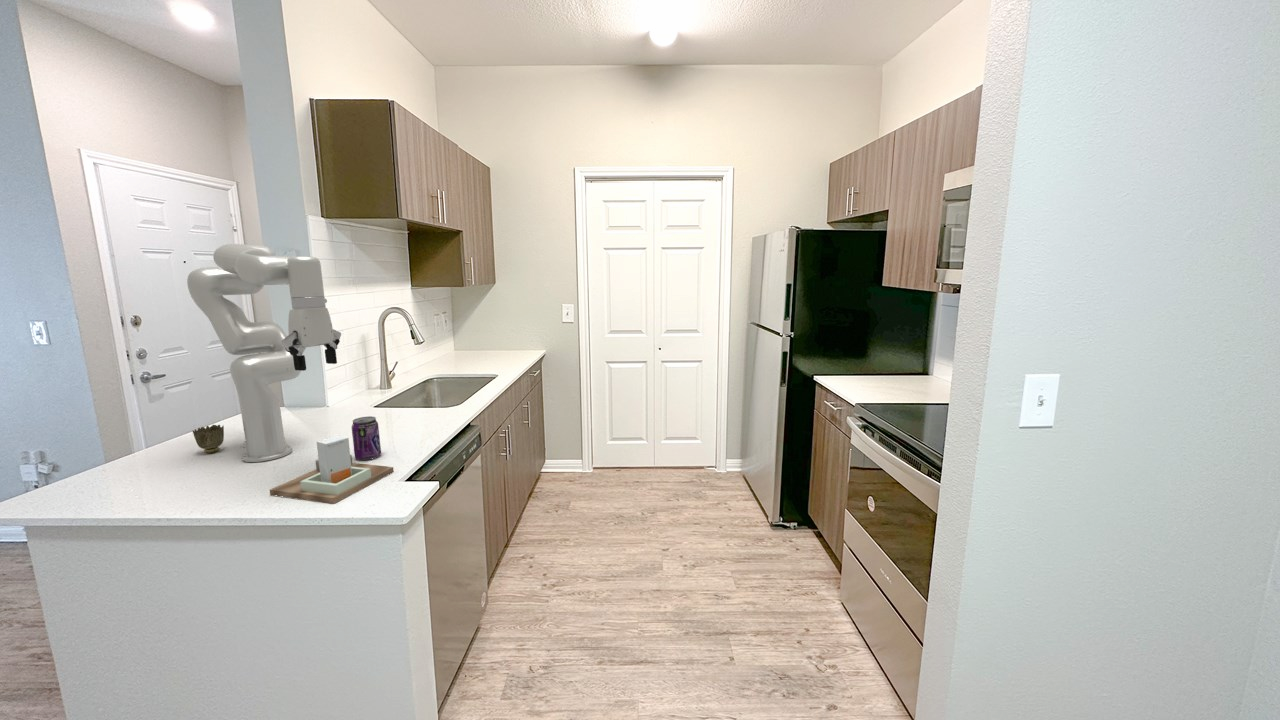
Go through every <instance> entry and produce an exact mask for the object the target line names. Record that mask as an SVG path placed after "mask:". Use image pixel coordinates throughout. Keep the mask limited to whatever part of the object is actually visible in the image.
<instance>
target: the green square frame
mask: <svg viewBox="0 0 1280 720" xmlns="http://www.w3.org/2000/svg"><path fill="white" fill-rule="evenodd" d="M351 468H352V476H350V477H348V478H346V479H344V480H342V481H340V482H338V483H336V484H335V483H327V482H321V477H320V473H318V474H315V475H313V476H311V477H309V478H307V479H304V480H302V481H300V483H301V490H302V491H308V492H316V493H324V494H332V495H339V494H340V493H342V492H344V491H346V490H348V489H350V488H352V487H354V486H356V485H358V484H360V483H362V482H364V481H365V480H367V479H369V478H371V470H370V469H369V468H360V467H351Z"/></svg>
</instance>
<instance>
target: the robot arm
mask: <svg viewBox="0 0 1280 720" xmlns="http://www.w3.org/2000/svg"><path fill="white" fill-rule="evenodd" d="M212 257H213V261H214V263H215V265H216V266H212V267H211V266H210V267H209V266H208V267H207V266H206V267H200V268H196V269H194V270H192V271H191V272H190V273H189V274H188V275H187V279H186V280H187V281H186V282H187V283H186V285H187V290H188V292H189V295H190V297H191V298H192V300H193V302H194V303H195V305H196V306H197V307H198V309H199V310H200V311H201V312H202V313H204V315H205V316H206V317H207V318H208V320H209V323H210V324H211V325H212V328H213V330H214V331H215V334H216V335H217V337H218V339H219V342H220V343H221V345H222V346H223V348H224V350H225V351H226V352H227V353H228V354H230V355H232V356H238V357H237V358H235V359H234V360H233V361H232V362H231V363H230V365H229V372H230V375H231V378H232V380H233V384H234V385H235V388H236V393H237V396H238V401H239V402H238V403H239V407H240V414H241V419H242V420H241V421H242V427H243V432H244V433H243V434H244V438H245V441H244V443H243V442H242V443H241V444H240V445H239V446H240V448H241V449H244V450H245V452H244V453H243V454H242V455H241V460H242V461H243V462H246V463H261V462H267V461H271V460H272V461H273V460H276V459H280V458H283V457H285V456H287V455H290V454H291V453H292V452H293V447H292V445H288V444H286V441H285V440H286V439H285V438H286V437H285V433H284V427H283V426H284V425H283V419H282V410H281V405H280V399H279V397H278V394H277V393H276V392H275V391H274V390H272V389H271V388H270V387H269V385H270V384H275V383H280V382H285V381H291V380H294V379H296V378H297V377H299V375H300V374H301V372H302V371H303V372H304V371H306V370H307V364H306V356H305V355H303V354H304V352H305V350H306V349H307V348H312V347H319V346H324V347H325V349H324V356H325V363H326V364H329V365H332V364H333V365H335V364H338V360H337V359H338V358H337V351H336V350H338V348H339V347H338V345H339V344H340V342H341V341H340V339H341V336H342V333H341V332H340V331H338V330H336V329H334V328H333V323H332V319H331V315H330V312H329V309H328V308H327V306H326V304H327V302H328V300H327V298H325V297H326V296H325V290H324V281H323V273H322V264H321V261H320V259H319V258H318V257H316V256H315V257H314V256H302V255H301V256H289V255H287V256H286V255H285V256H284V255H283V256H282V255H276V254H275V252H274V250H272V249H271V248H270V247H268V246H266V245H262V244H245V243H244V244H243V243H241V244H240V243H227V244H223V245H221V246H218V248H217V247H216V249H215V251H214V252H213V256H212ZM276 285H278V286H279V285H281V286H283V285H284V286H285V285H288V286H289V293H290V300H291V301H290V302H291V308H292V309H289V312H288V319H287V321H288V324H287V325H288V329H287V330H288V335H287V334H286V332H285V330H284V329H283V327H281V326H280V325H279V324H278V323H276V322H274V321H257V322H256V321H255V322H253V321H250V320H248V319H249V318H247V316H246V314H245V312H244V310H243V309H242V308H241V307H240V306H238V305H237V304H236V303H234V302H233V301H232V300H229V299H228V298H226V297H224V296H240V295H243V296H245V295H246V296H247V295H254V294H258V293H259V292H261V290H262V289H264V287H265V286H276Z"/></svg>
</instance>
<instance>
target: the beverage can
mask: <svg viewBox="0 0 1280 720" xmlns="http://www.w3.org/2000/svg"><path fill="white" fill-rule="evenodd" d="M379 429H380V428H379V423H378V420H377V418H376V416H362V417H357V418H355V419H353V420H352V425H351V434H352V442H353V443H352V444H353V452H354V453H353V454H354V458H355V459H357V460H360V461H369V460H373V459H376V458H377V457H379V456H380V455H381V454H382V448H381V439H380V430H379ZM375 457H376V458H375ZM372 458H373V459H372ZM368 459H369V460H368Z"/></svg>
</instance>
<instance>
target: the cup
mask: <svg viewBox="0 0 1280 720" xmlns="http://www.w3.org/2000/svg"><path fill="white" fill-rule="evenodd" d="M224 429H225V427H224V424H223V425H222V426H221V425H220V424H217V425H216V424H212V425H211V426H209V425H206V427H203V426H201V427H198V428H197V429H196V428H195V429H194V430H192V434H193V437H194V439H195V442H196V444H197V446H198V447H199V448H201V450H202V449H203V451H204V453H205V454H215V453H217V452H219V451H220V449H221V448H220V446H221V445H222V444H223V442H224V440H225V439H224V438H225V437H224V436H225V431H224Z"/></svg>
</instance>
